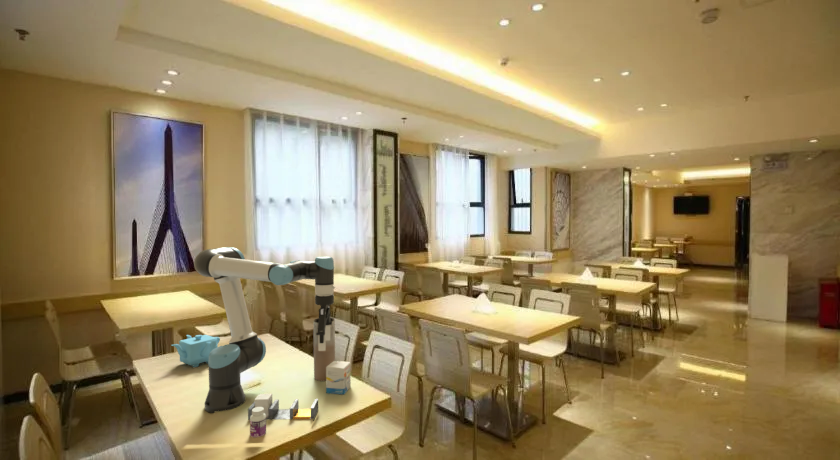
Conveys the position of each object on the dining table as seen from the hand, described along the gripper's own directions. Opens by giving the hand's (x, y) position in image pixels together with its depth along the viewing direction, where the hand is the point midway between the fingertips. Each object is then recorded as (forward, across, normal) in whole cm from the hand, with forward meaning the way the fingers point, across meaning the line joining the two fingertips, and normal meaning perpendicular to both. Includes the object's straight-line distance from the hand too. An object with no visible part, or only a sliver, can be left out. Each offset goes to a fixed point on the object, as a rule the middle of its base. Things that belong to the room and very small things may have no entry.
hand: (324, 345), depth 174 cm
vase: (+24, +27, +4) cm, 36 cm away
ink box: (+24, +11, -5) cm, 27 cm away
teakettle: (+25, +52, +74) cm, 93 cm away
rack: (+24, -12, +14) cm, 30 cm away
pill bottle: (+24, -26, +19) cm, 40 cm away
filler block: (+23, -12, +21) cm, 33 cm away
